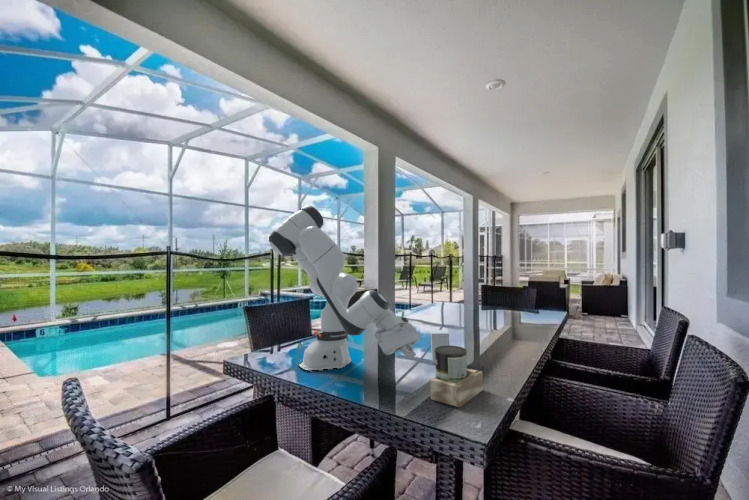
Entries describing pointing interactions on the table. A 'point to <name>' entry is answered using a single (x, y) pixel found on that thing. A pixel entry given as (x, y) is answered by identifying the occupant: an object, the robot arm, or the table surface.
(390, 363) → the table surface
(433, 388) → the wooden dock
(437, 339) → the supplement box
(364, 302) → the robot arm
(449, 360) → the coffee can
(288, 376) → the table surface
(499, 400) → the table surface
